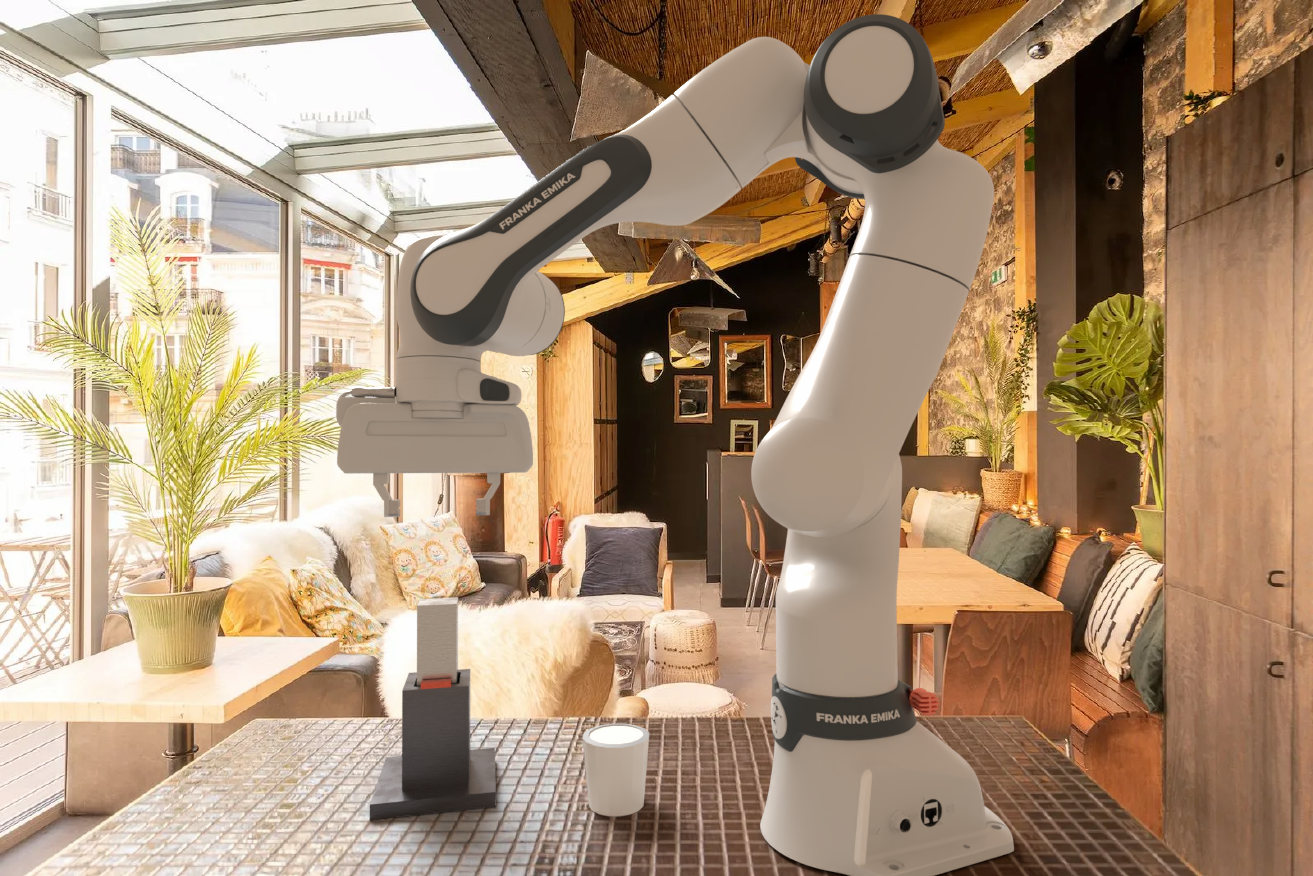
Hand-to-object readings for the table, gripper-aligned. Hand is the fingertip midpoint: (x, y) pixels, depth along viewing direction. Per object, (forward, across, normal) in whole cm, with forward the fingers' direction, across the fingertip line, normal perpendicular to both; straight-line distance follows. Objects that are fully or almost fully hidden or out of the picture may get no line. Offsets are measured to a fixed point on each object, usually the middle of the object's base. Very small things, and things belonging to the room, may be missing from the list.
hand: (438, 516), depth 81 cm
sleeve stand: (+29, 0, 0) cm, 29 cm away
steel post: (+27, 0, 0) cm, 27 cm away
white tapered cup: (+29, +18, -8) cm, 35 cm away
